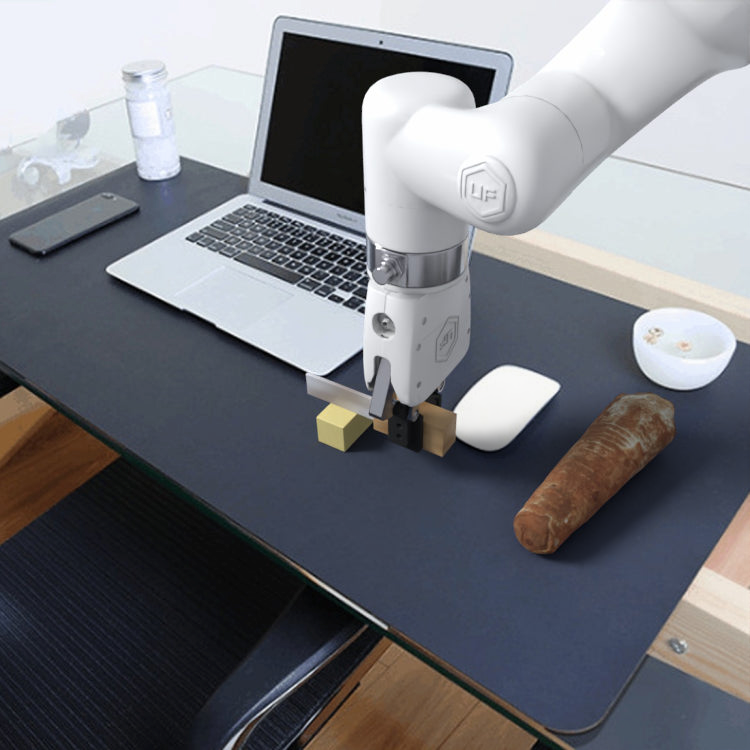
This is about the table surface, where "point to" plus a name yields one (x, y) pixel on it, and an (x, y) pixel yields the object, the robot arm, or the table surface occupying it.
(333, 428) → the butter
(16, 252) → the table surface
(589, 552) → the table surface
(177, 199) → the table surface
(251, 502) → the table surface
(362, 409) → the knife
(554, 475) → the bread
